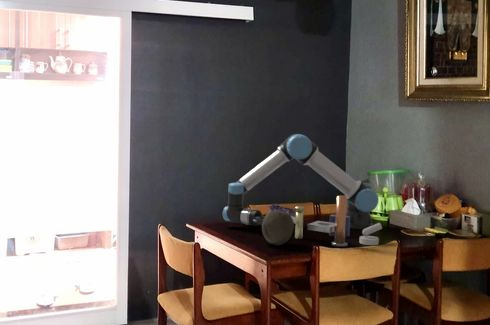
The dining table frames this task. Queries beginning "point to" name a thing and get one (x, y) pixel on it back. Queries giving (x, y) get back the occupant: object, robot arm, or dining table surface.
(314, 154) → the robot arm
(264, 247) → the dining table surface
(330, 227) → the rosette bracket
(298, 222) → the glass vial
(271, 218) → the cantaloupe
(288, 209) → the geode
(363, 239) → the wall hook
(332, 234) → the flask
